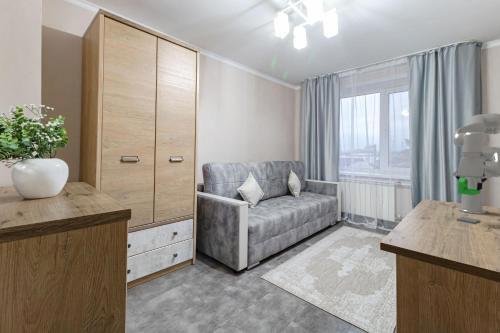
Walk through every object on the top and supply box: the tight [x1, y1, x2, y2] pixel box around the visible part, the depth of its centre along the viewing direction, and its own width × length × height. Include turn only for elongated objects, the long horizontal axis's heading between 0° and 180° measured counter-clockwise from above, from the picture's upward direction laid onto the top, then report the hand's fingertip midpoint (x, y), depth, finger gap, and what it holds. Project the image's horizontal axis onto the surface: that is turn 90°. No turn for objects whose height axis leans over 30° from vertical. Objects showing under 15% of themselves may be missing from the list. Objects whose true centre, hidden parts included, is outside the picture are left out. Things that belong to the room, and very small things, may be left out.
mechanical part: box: [457, 178, 480, 195], centre depth 122 cm, size 12×6×8 cm, turn 119°
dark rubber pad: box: [456, 216, 481, 225], centre depth 123 cm, size 8×7×1 cm
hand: (470, 188), depth 122 cm, fingers closed on mechanical part, 6 cm apart
